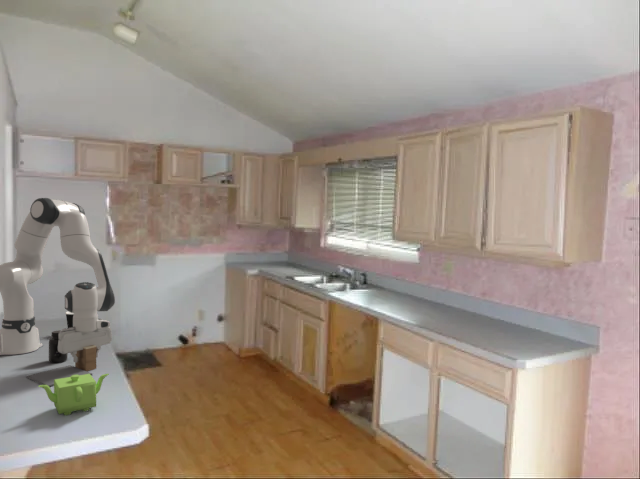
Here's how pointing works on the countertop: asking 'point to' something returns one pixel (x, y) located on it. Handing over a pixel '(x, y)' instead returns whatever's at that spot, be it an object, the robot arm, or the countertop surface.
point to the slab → (87, 358)
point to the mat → (56, 375)
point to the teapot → (74, 393)
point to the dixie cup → (69, 319)
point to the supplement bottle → (55, 349)
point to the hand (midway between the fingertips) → (85, 359)
